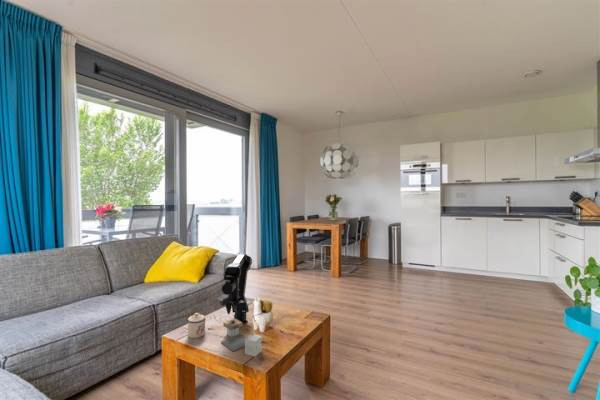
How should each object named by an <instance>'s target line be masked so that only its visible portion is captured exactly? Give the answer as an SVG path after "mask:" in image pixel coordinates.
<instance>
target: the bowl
mask: <svg viewBox="0 0 600 400" xmlns="http://www.w3.org/2000/svg"><path fill="white" fill-rule="evenodd" d="M226 335H227V336H229V337H235V336H238V335H240V327H239V328H236V329H233V330H231V331H230V330H229V329H227V328H226Z"/></svg>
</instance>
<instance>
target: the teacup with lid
mask: <svg viewBox="0 0 600 400" xmlns="http://www.w3.org/2000/svg"><path fill="white" fill-rule="evenodd" d="M187 325H188V326H187V336H188V337H189V338H190V339H197V338H198V339H199V338H201V337H203V336H205V332H206V316H205V315H203V314H200V313H198V312H195V313H194V314H193V315H191V316H189V317H188V318H187Z"/></svg>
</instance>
